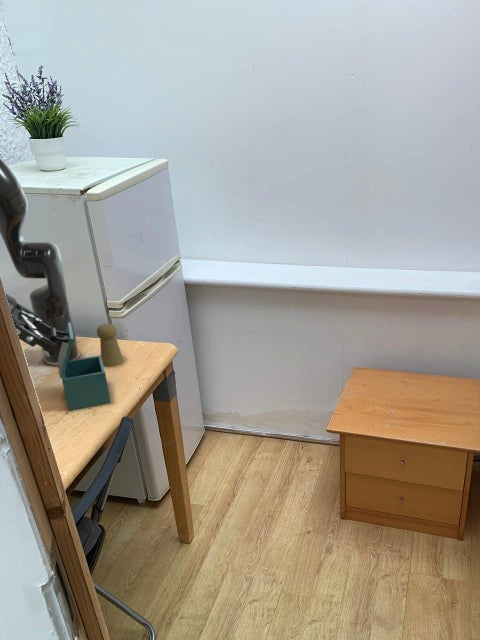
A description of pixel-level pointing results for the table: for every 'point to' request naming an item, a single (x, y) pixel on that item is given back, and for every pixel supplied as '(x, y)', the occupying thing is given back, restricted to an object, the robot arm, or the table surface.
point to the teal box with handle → (63, 346)
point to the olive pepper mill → (109, 345)
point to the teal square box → (85, 383)
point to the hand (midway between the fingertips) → (53, 341)
